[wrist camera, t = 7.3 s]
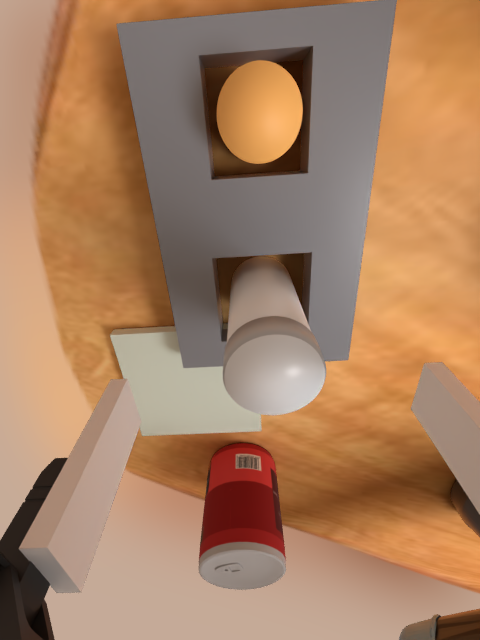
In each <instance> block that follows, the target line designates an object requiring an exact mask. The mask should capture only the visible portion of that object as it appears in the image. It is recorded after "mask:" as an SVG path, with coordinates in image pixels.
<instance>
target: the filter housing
mask: <svg viewBox="0 0 480 640" xmlns="http://www.w3.org/2000/svg"><path fill="white" fill-rule="evenodd" d="M396 2H397V0H378V1H367V2H355V3H344V4H333V5H322V6H310V7H299V8H288V9H277V10H266V11H254V12H243V13H232V14H221V15H210V16H198V17H187V18H176V19H165V20H153V21H142V22H131V23H120V24H117V29H118V35H119V40H120V45H121V50H122V55H123V60H124V65H125V71H126V76H127V81H128V86H129V91H130V96H131V101H132V107H133V112H134V117H135V122H136V127H137V132H138V137H139V143H140V148H141V153H142V158H143V163H144V168H145V173H146V179H147V184H148V189H149V194H150V199H151V204H152V209H153V214H154V220H155V225H156V230H157V235H158V240H159V245H160V250H161V256H162V261H163V266H164V271H165V276H166V281H167V286H168V292H169V297H170V302H171V307H172V312H173V317H174V322H175V328H176V333H177V338H178V343H179V348H180V353H181V358H182V364H183V368H199V367H219V366H223V362H224V352H225V347H226V344H227V333H228V329H223V317H222V307H221V298H220V288H219V279H218V269H217V260H216V258H228V257H244V256H261V255H277V254H293V253H304V265H303V290H302V309H303V312H304V314H305V317H306V319H307V322H308V325H309V327H310V330H311V332H312V334H313V335H314V337H315V338H316V340H317V343H318V345H319V348H320V351H321V353H322V356H323V358H324V361H341V360H348V358H349V351H350V343H351V336H352V329H353V321H354V314H355V306H356V299H357V291H358V284H359V277H360V269H361V262H362V254H363V247H364V239H365V232H366V225H367V217H368V210H369V202H370V195H371V188H372V180H373V173H374V165H375V158H376V150H377V143H378V136H379V128H380V121H381V113H382V106H383V98H384V91H385V84H386V76H387V69H388V61H389V54H390V46H391V39H392V32H393V24H394V17H395V9H396ZM257 60H265V61H270V62H273V63H276V62H289V61H301V60H303V83H302V105H303V115H302V122H301V153H300V170H297V171H283V172H269V173H255V174H241V175H226V176H215V173H214V162H213V152H212V141H211V131H210V120H209V110H208V99H207V89H206V78H205V68H216V67H228V66H240V65H244V64H246V63H249V62H252V61H257Z"/></svg>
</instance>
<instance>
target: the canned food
mask: <svg viewBox="0 0 480 640" xmlns="http://www.w3.org/2000/svg"><path fill="white" fill-rule="evenodd" d="M285 565H286V558H285V547H284V539H283V529H282V520H281V511H280V503H279V494H278V485H277V476H276V467H275V463H274V461H273V458H272V456H271V455H270V453H269V452H268V451H267V450H265V449H264V448H262V447H260V446H258V445H254V444H249V443H237V444H231V445H228V446H225V447H223V448H221V449H220V450H218V451H217V452H216V453H215V454H214V456H213V457H212V459H211V461H210V464H209V468H208V478H207V487H206V496H205V506H204V515H203V524H202V534H201V543H200V555H199V573H200V575H201V577H202V578H203V579H204V580H206V581H208V582H209V583H211V584H213V585H216V586H219V587H223V588H228V589H239V590H240V589H241V590H242V589H255V588H261V587H264V586H268V585H270V584H272V583H274V582H276V581H278V580H279V579H280V578H282V577H283V575H284V574H285V571H286V566H285Z"/></svg>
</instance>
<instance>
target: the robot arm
mask: <svg viewBox="0 0 480 640" xmlns="http://www.w3.org/2000/svg"><path fill="white" fill-rule="evenodd" d="M411 410H412V411H413V413H414V414H415V416H416V417H417V419H418V420H419V422H420V423H421V425H422V427H423V428H424V430H425V431H426V433H427V434H428V436H429V437H430V439H431V440H432V442H433V443H434V445H435V447H436V448H437V450H438V451H439V453H440V454H441V456H442V457H443V459H444V460H445V462H446V463H447V465H448V467H449V468H450V470H451V471H452V473H453V474H454V476H455V477H456V479H457V480H456V481H455V483H454V485H453V487H452V490H451V501H452V503H453V505H454V507H455V508H456V510H457V512H458V513H459V515H460V517H461V518H462V520H463V521H464V522H465V523H466V524H467V525H468V526H469V527H470V528H471V529H472V530H473V531H474V532H475V533H476V534H477V535H478V536H479V537H480V402H479V401H478V400H477V399H476V398H475V397H474V396H473V395H472V394H471V393H470V391H469V390H468V389H467V388H466V387H465V386H464V385H463V384H462V383H461V382H460V381H459V380H458V379H457V378H456V376H455V375H454V374H453V373H452V372H451V371H450V370H449V369H448V368H447V367H446V366H445V365H444V364H443V363H442V362H438V363H424V366H423V370H422V373H421V376H420V380H419V383H418V386H417V390H416V393H415V397H414V400H413V403H412V407H411ZM140 424H141V419H140V416H139V413H138V409H137V406H136V403H135V400H134V397H133V394H132V391H131V388H130V384H129V381H128V379H111V380H110V382H109V384H108V386H107V387H106V389H105V391H104V393H103V395H102V397H101V398H100V400H99V402H98V404H97V406H96V408H95V409H94V411H93V413H92V415H91V417H90V419H89V420H88V422H87V424H86V426H85V428H84V430H83V431H82V433H81V435H80V437H79V439H78V441H77V443H76V444H75V446H74V448H73V450H72V452H71V454H70V455H69V457H68V458H56V459H54V460H53V461H52V462H51V463H50V464H49V465H48V466H47V467H46V468H45V469H44V470H43V471H42V472H41V474H40V476H39V477H38V479H37V480H36V482H35V484H34V485H33V489H32V490H30V492H29V494H28V496H27V497H26V499H25V502H23V504H22V505H21V507H20V509H19V510H18V512H17V514H16V515H15V517H14V519H13V520H12V522H11V524H10V525H9V527H8V529H7V530H6V532H5V534H4V535H3V537H2V539H1V540H0V640H54V635H53V631H52V626H51V622H50V617H49V613H48V608H47V604H46V602H45V600H44V597H45V595H46V593H47V590H48V588H49V586H50V585H51V587H52V588H53V589H54V590H55V592H56V593H75V592H81V591H82V589H83V586H84V583H85V580H86V578H87V575H88V572H89V569H90V566H91V563H92V560H93V558H94V555H95V552H96V549H97V546H98V543H99V541H100V538H101V535H102V532H103V529H104V526H105V524H106V521H107V518H108V515H109V512H110V509H111V506H112V504H113V501H114V498H115V495H116V492H117V490H118V486H119V484H120V481H121V478H122V475H123V472H124V470H125V467H126V464H127V461H128V458H129V455H130V453H131V450H132V447H133V444H134V441H135V438H136V436H137V433H138V430H139V427H140ZM399 640H480V609H476V610H471V611H467V612H461V613H456V614H452V615H447V616H442V617H441V616H440V615H438V614H437V615H434V616H433V617H432V619H428V620H424V621H421V622H417V623H414V624H411V625H408V626H406V627H405V628H404V629H403V630H402V632H401V634H400V637H399Z"/></svg>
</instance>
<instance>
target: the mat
mask: <svg viewBox="0 0 480 640" xmlns="http://www.w3.org/2000/svg"><path fill="white" fill-rule="evenodd" d="M223 329H228V323H223ZM110 337H111V341H112V344H113V347H114V350H115V353H116V356H117V359H118V362H119V365H120V369H121V372H122V375H123V378H124V379H128V381H129V384H130V388H131V391H132V394H133V397H134V400H135V403H136V406H137V409H138V413H139V416H140V419H141V424H140V427H139V428H140V431H141V434H142V436H156V435H180V434H205V433H229V432H253V431H261V414H258V413H254V412H251V411H249V410H246V409H245V408H243V407H241V406H240V405H238V404H237V403H236V402H235V401H234V400H233V399H232V398H231V396H230V395H229V394H228V392H227V391H226V389H225V386H224V383H223V366H219V367H199V368H183V364H182V358H181V353H180V348H179V343H178V338H177V333H176V328H175V326H166V327H147V328H129V329H114V330H113V331H112V333H111V334H110Z"/></svg>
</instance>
